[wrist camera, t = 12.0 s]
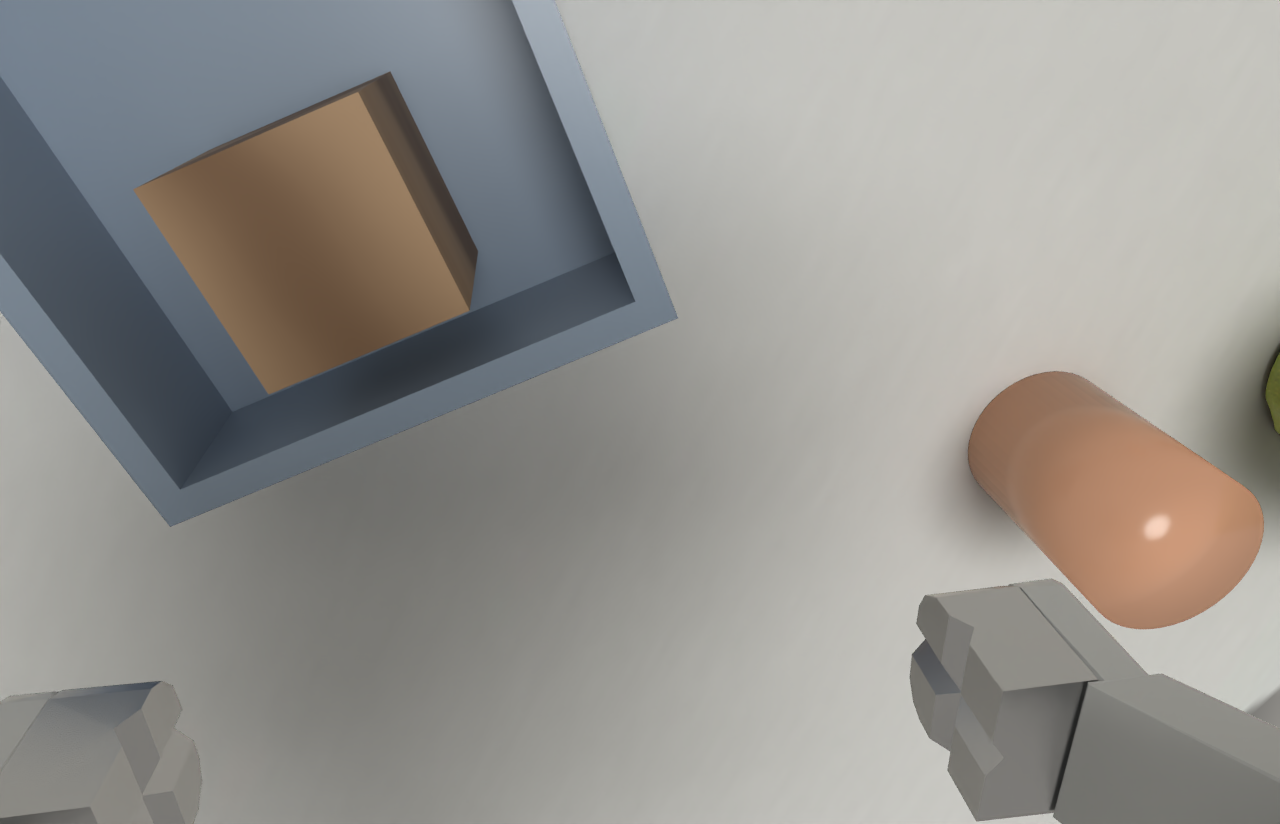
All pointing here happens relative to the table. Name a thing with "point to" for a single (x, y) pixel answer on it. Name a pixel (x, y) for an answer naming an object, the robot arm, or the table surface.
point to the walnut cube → (319, 234)
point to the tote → (245, 101)
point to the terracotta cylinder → (1114, 500)
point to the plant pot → (1274, 393)
